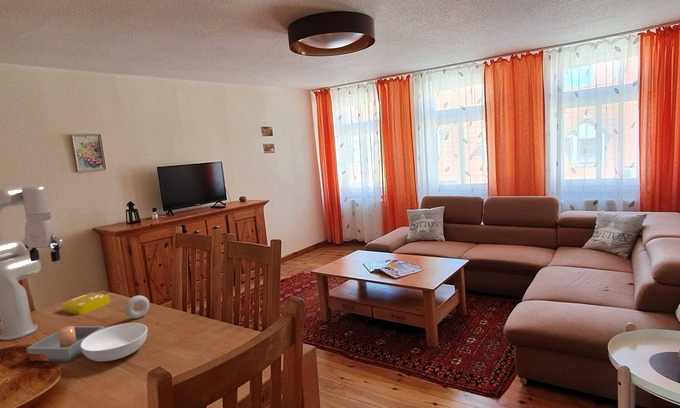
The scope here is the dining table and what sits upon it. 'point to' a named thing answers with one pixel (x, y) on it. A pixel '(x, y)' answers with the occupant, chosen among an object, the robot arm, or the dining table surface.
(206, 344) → the dining table surface
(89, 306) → the element tile
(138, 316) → the donut
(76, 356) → the bin
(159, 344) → the dining table surface
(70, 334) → the pinkish-brown rounded piece
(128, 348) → the serving bowl
